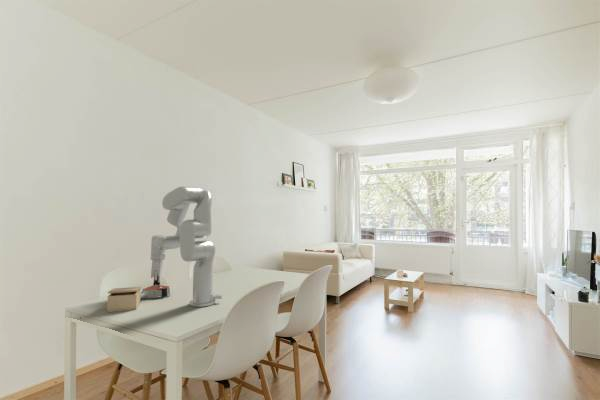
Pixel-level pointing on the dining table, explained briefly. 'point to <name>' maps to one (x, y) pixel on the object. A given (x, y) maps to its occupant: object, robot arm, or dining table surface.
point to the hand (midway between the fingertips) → (156, 288)
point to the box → (123, 301)
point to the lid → (124, 290)
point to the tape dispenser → (155, 291)
